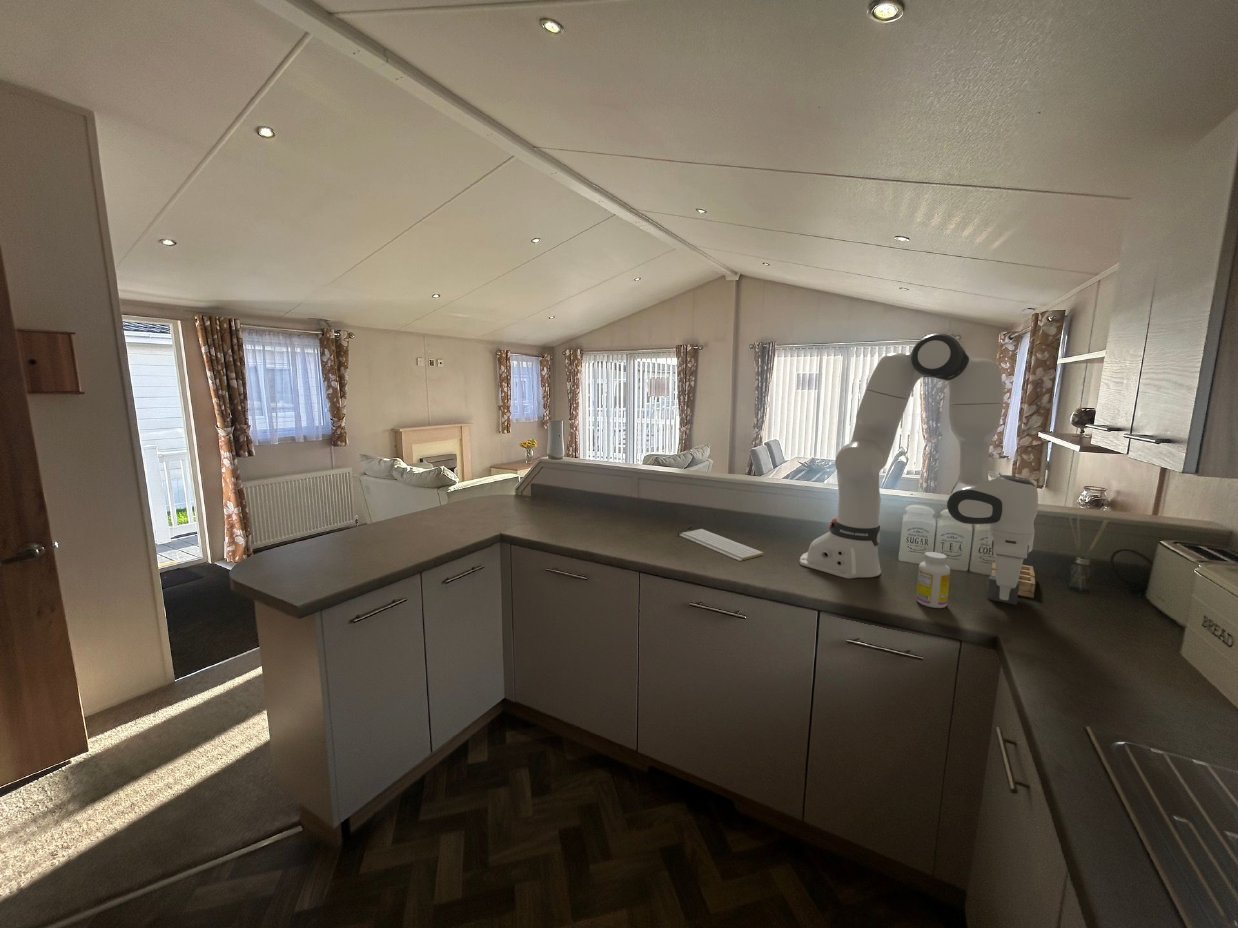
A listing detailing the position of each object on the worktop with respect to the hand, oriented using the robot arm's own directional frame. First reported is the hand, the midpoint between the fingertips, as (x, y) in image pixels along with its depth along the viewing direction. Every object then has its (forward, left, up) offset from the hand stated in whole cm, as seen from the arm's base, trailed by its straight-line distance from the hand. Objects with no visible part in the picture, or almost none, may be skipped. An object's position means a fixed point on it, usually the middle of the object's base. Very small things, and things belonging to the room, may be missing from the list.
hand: (1003, 592), depth 124 cm
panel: (0, 0, -2) cm, 2 cm away
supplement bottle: (-14, -13, -2) cm, 19 cm away
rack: (+2, +16, -2) cm, 16 cm away
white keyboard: (-78, -5, -3) cm, 78 cm away
